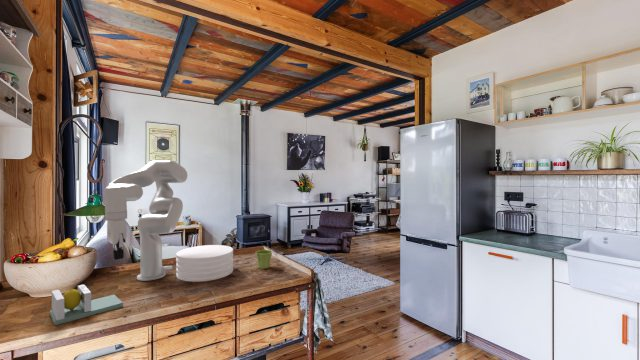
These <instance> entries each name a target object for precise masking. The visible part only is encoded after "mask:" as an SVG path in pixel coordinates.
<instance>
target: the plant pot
mask: <svg viewBox="0 0 640 360" xmlns="http://www.w3.org/2000/svg"><path fill="white" fill-rule="evenodd" d="M272 253H273V250H270V249H263V250H257V251H255V253H254V254H255V256H256V260H257V267H258V268H259V269H261V270H264V269H266V270H267V269H269V268H270V266H271V258H272V255H273V254H272Z"/></svg>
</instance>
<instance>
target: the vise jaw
mask: <svg viewBox="0 0 640 360" xmlns="http://www.w3.org/2000/svg"><path fill="white" fill-rule="evenodd" d="M77 290H78V291H79V292H80V294H81V302H80V304H79V305H80V307H81V308H82V309H83V311H84V312H87V311H91V300H92V291H91V290H90V289H89V288H88V287H87V286H86V285H85V284H80V285H77Z"/></svg>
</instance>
